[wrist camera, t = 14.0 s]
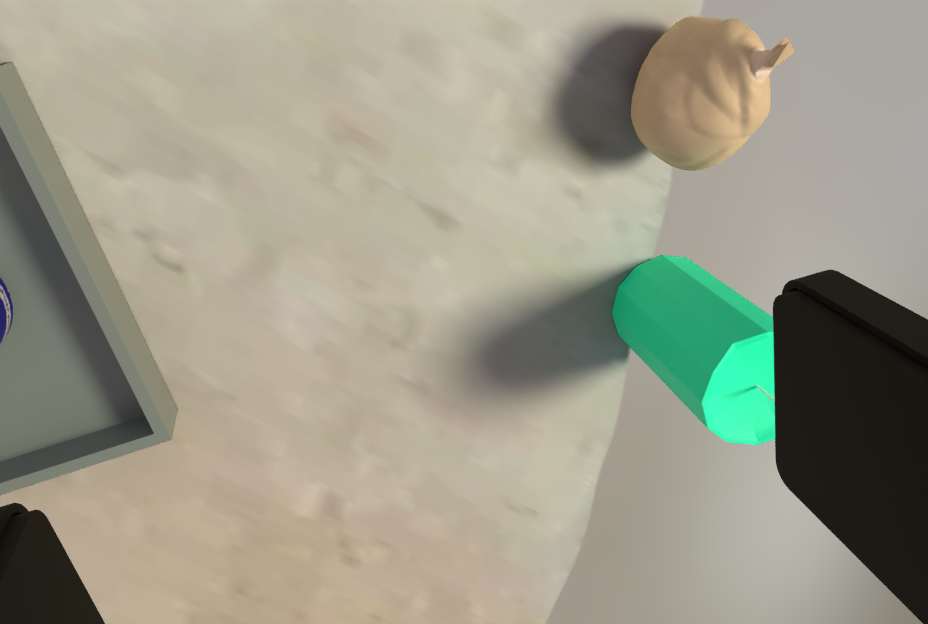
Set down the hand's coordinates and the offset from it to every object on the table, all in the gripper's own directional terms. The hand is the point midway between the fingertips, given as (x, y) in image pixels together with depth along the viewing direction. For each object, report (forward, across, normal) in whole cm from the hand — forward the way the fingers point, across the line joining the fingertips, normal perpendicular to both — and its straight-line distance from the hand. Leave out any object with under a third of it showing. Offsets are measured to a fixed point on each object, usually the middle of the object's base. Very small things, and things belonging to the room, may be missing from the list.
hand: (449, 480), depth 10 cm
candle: (+30, -16, +15) cm, 37 cm away
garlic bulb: (+30, -18, +3) cm, 35 cm away
